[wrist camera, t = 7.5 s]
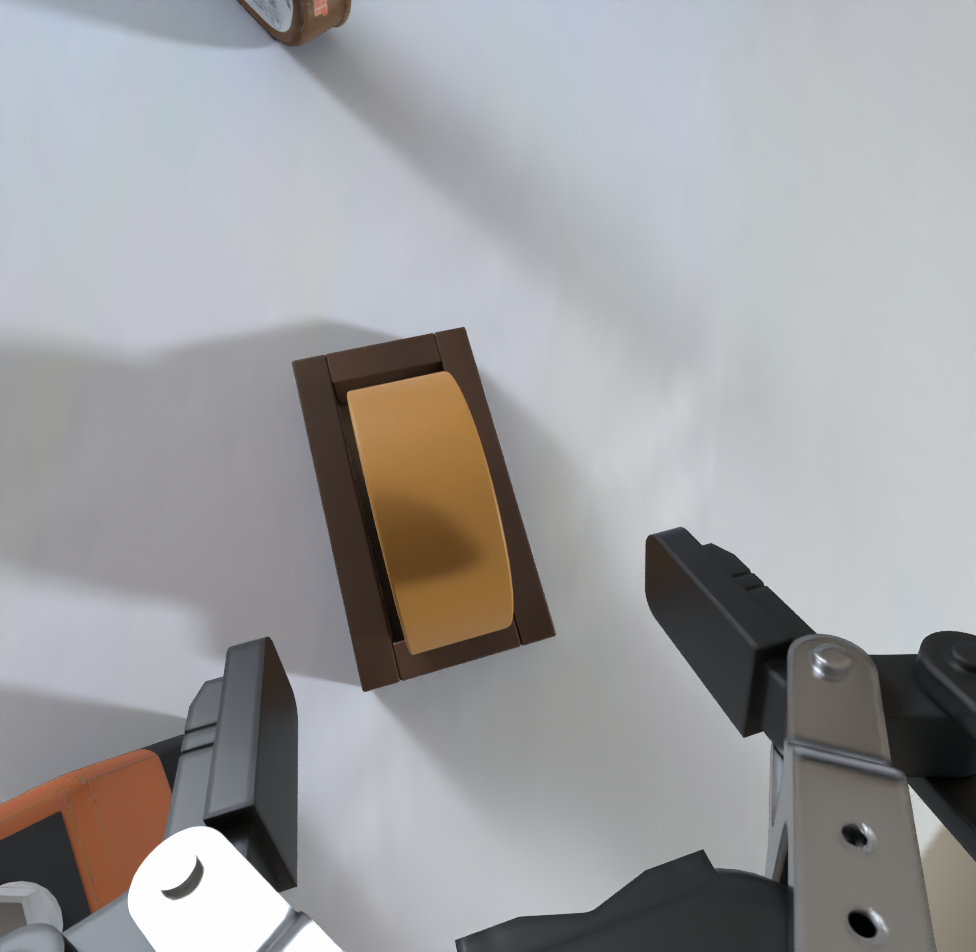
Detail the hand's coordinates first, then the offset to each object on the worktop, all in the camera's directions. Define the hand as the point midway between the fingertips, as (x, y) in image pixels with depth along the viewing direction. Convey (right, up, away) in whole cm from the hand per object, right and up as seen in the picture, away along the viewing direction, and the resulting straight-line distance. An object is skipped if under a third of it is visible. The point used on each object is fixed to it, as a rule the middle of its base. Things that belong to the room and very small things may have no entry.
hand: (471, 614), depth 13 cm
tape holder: (-2, +2, +10) cm, 10 cm away
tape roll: (-2, +2, +10) cm, 10 cm away
